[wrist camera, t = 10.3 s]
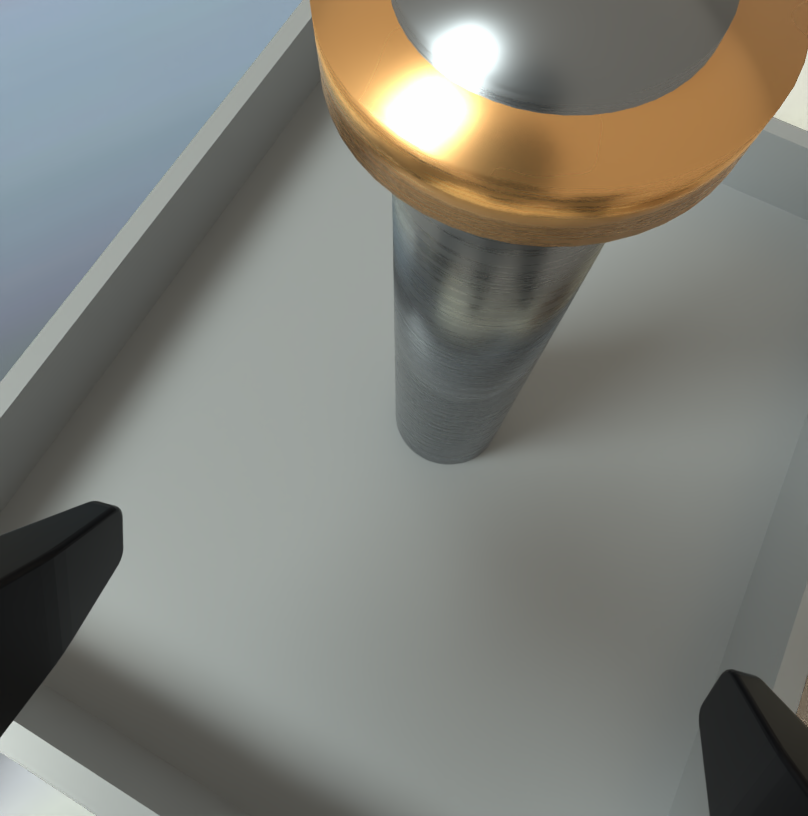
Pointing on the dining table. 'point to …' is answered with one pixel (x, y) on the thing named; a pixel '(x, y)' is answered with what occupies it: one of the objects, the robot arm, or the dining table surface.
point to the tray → (409, 499)
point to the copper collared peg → (533, 162)
